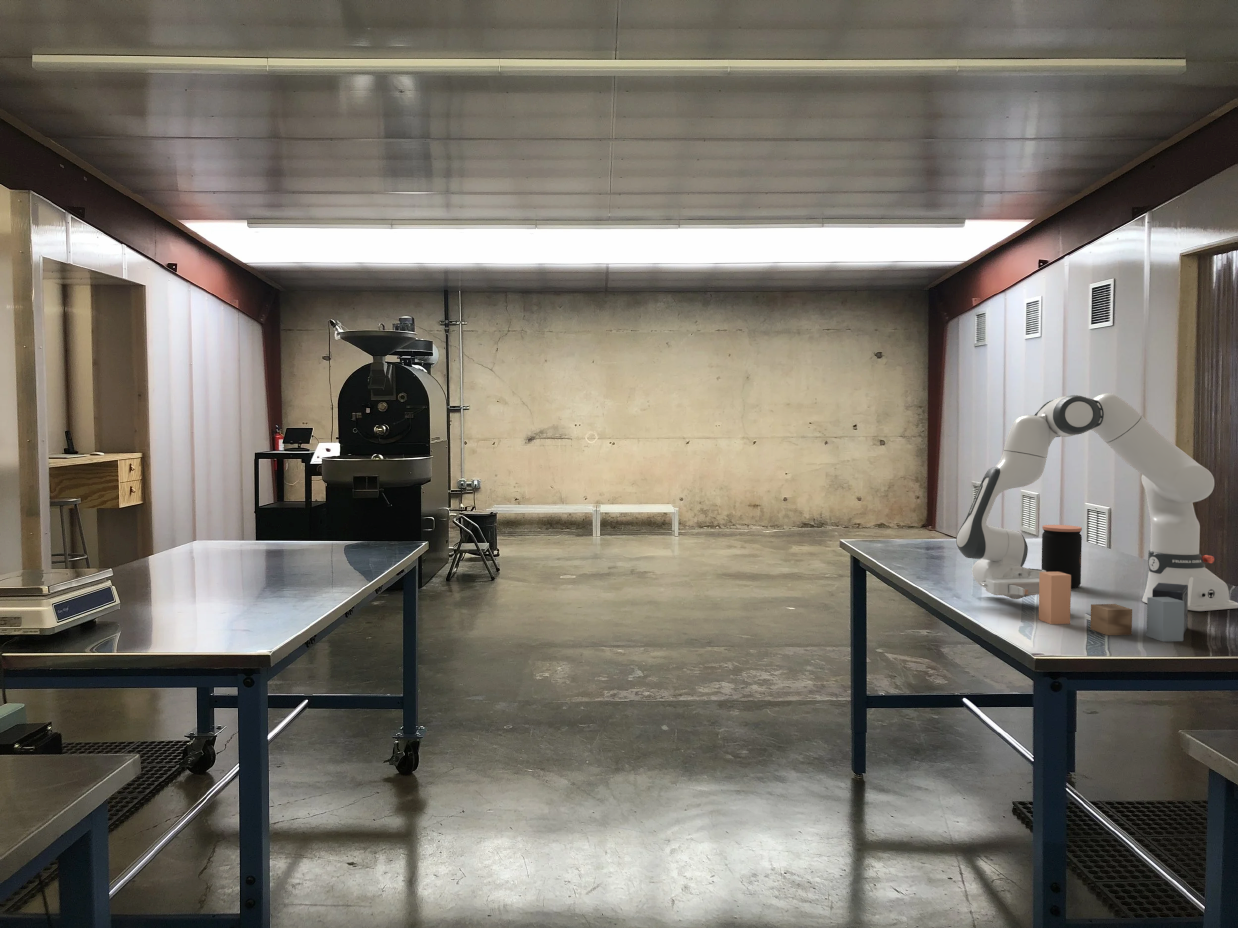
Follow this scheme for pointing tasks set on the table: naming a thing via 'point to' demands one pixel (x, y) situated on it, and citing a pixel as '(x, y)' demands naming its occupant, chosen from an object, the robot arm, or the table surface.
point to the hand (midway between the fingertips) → (1043, 591)
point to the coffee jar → (1062, 551)
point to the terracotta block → (1054, 597)
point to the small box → (1174, 595)
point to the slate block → (1165, 618)
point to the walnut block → (1111, 619)
